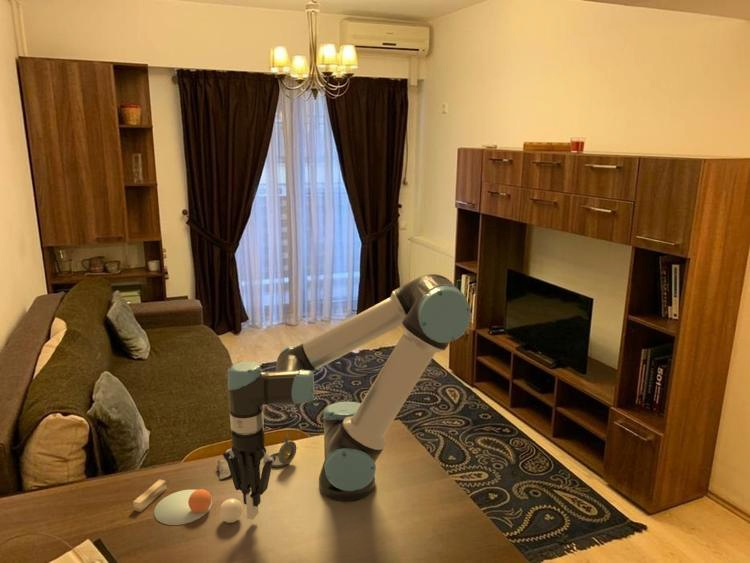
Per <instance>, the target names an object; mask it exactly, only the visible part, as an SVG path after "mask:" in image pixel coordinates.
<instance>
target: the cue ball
mask: <svg viewBox="0 0 750 563" xmlns="http://www.w3.org/2000/svg"><path fill="white" fill-rule="evenodd" d="M243 508H244V507H243V504H242V502H241V501H240V500H239V499H237V498H228V499H226V500H224V501H223V502H222V503H221V505H220V507H219V516H220V518H221V520H223V521H224V522H225V523H228V524H231V523H235V522H237V521H238V520H239V519H240V518H241V517H242V514H243V512H244V509H243Z"/></svg>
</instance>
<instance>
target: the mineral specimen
mask: <svg viewBox="0 0 750 563" xmlns="http://www.w3.org/2000/svg"><path fill="white" fill-rule="evenodd" d="M238 462H239V460H238ZM215 467H216V470H217V471H219V472H218V473H219V476H218V478H219V480H223V479H226V478H228V477H230V476H231V473H230V469H229V466H228V463H227V461H226V459H225V458H224V457H223V458H221V459H218V461H217V465H216V466H215Z"/></svg>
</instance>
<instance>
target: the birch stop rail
mask: <svg viewBox="0 0 750 563" xmlns="http://www.w3.org/2000/svg"><path fill="white" fill-rule="evenodd" d="M167 488H168V486H167V481H166V480H164V479H158V480H157V481H156V482H154V484H152V485H151V486H149V488H148V489H146V490H145V491H144V492H143V493H142V494H140V495H139V496H138V497H137V498H136V499H135V500H133V501H132V503H133V510H134V511H136V512H140V513H142V511H144V510H145V508H147V507H148V506H149V505H150V504H151V503H153V501H155V500H156V499H157V498H158V497H159V496H160V495H162V494H163V493H164V492H165V491H166V490H167Z"/></svg>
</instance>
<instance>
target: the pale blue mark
mask: <svg viewBox="0 0 750 563" xmlns="http://www.w3.org/2000/svg"><path fill="white" fill-rule="evenodd" d="M196 490H197V489H185V490H184V489H183V490H179V491H176V492H173V493H170V494H169V495H167V496H165V497H164V498H162V499H161V500H160V501H159V502H158V503H157V504H156V506H155V508H154V511H153V515H154V518H155V519H156V521H158V522H160V523H161V524H164V525H167V526H179V525H181V526H182V525H185V524H189V523H193V522H195V521H197V520H199V519H201V518H202V517H204V516H205V515H206V514H207V513H208V512H209V511H210V510H211V508H212V505H213V498H212V497H211V504H210V506H209V508H208V509H207V510H206V511H204V512H202V513H196V512H193V511H192V510H191V509H190V507H189V504H188V501H189V497H190V495H191V494H192V493H193V492H194V491H196Z"/></svg>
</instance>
